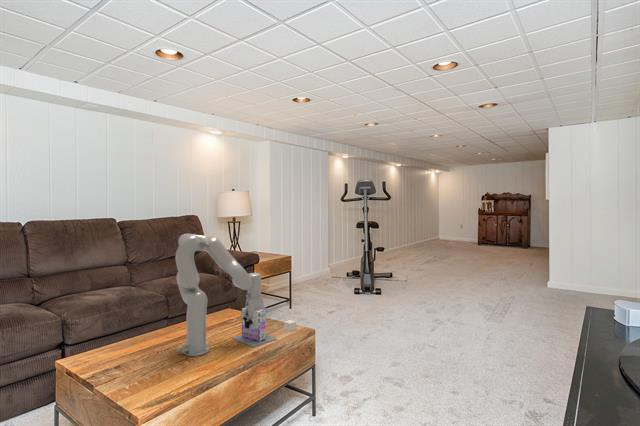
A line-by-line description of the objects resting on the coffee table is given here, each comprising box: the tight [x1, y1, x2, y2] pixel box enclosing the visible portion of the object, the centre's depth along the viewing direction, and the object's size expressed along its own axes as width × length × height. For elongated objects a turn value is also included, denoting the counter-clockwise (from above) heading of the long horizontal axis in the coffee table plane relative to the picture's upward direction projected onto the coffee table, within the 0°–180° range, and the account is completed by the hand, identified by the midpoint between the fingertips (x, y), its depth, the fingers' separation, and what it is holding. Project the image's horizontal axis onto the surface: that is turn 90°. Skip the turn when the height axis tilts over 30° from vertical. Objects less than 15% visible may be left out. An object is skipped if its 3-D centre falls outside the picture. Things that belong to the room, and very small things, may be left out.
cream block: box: [283, 319, 297, 333], centre depth 216 cm, size 5×5×5 cm
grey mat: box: [231, 334, 278, 348], centre depth 200 cm, size 16×20×1 cm
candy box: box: [241, 307, 267, 342], centre depth 200 cm, size 14×6×16 cm, turn 56°
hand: (254, 325), depth 200 cm, fingers open, 9 cm apart
